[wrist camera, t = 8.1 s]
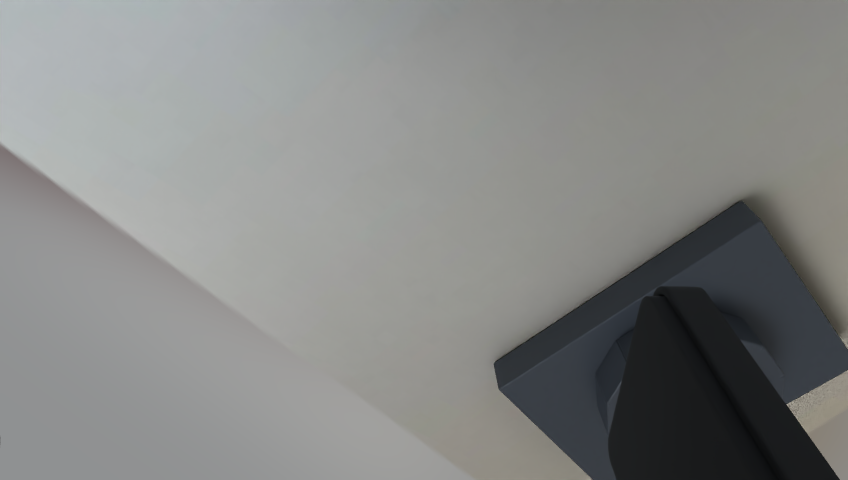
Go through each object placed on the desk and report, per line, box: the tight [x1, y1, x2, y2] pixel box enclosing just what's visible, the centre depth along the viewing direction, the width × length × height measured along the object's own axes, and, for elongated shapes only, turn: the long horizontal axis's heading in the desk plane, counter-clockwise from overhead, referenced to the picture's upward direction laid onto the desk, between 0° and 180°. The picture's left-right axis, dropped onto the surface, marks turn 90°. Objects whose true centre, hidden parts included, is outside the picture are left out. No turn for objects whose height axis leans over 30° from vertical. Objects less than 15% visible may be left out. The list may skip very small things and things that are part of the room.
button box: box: [494, 201, 848, 480], centre depth 29 cm, size 12×9×4 cm
